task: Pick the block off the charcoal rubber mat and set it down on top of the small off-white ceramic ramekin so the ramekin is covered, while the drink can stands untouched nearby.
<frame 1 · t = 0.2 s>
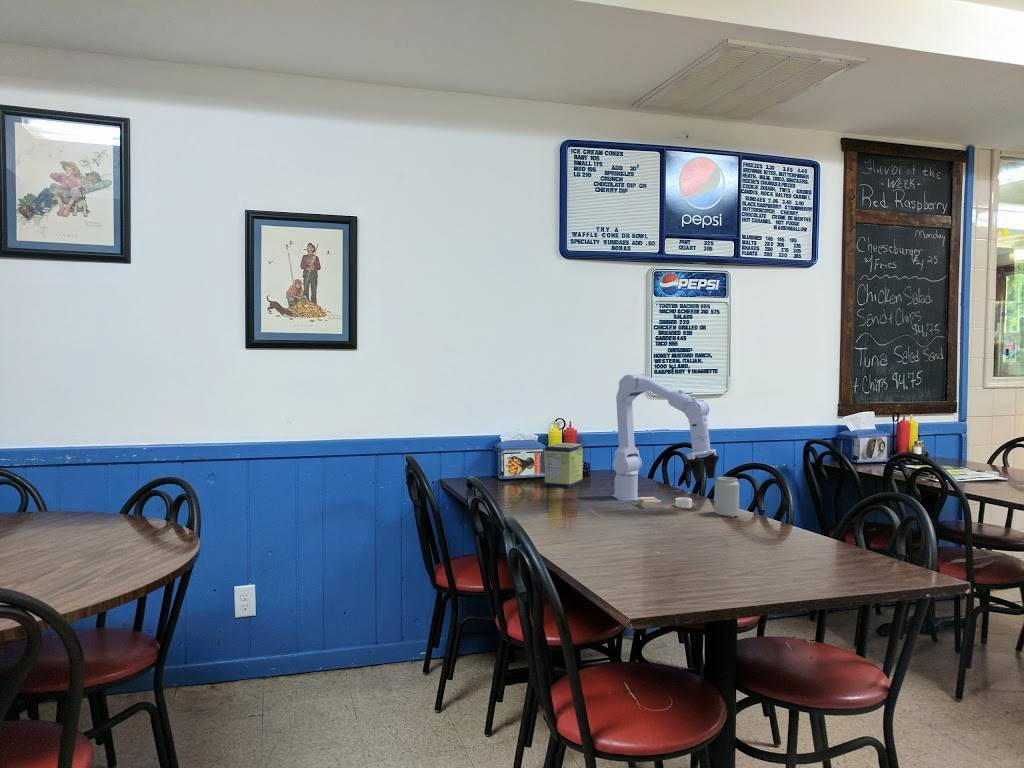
hand: (705, 479, 243), 11 cm above the table, tool pointing down, fingers open, 7 cm apart
mat: (648, 507, 250), on the table
block: (649, 506, 249), point 1 cm above the table, touching mat
bowl: (683, 507, 249), on the table
can: (726, 516, 238), on the table
protein box: (563, 484, 294), on the table
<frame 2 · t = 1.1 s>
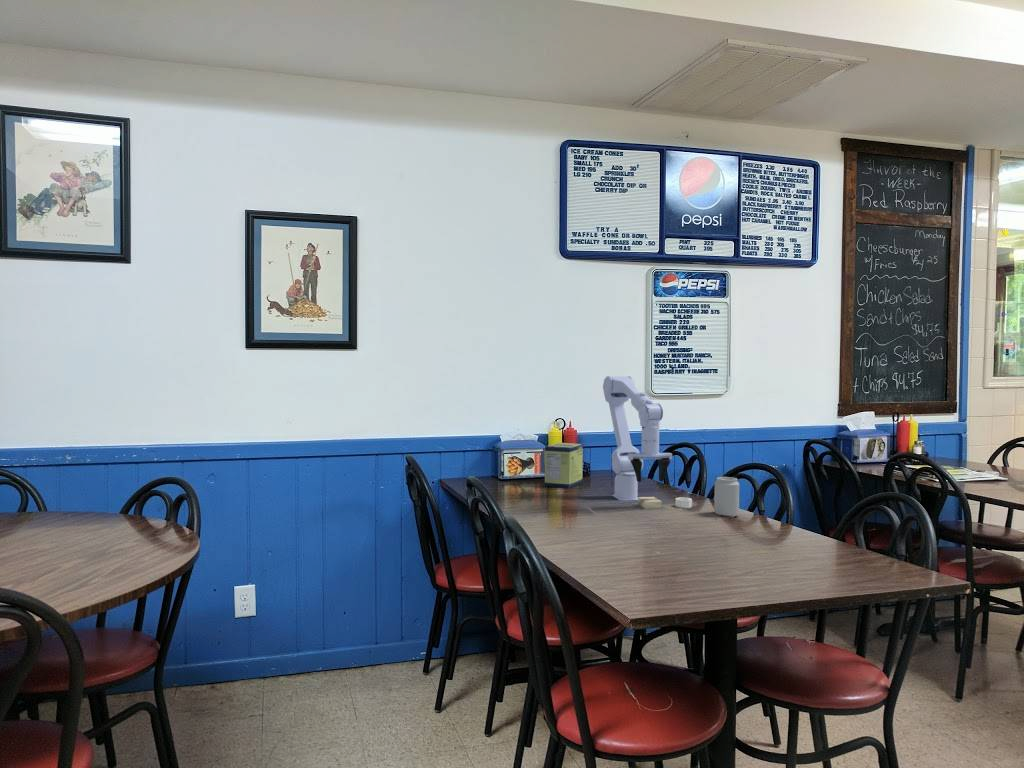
hand: (649, 481, 248), 9 cm above the table, tool pointing down, fingers open, 7 cm apart
nothing on the table moved.
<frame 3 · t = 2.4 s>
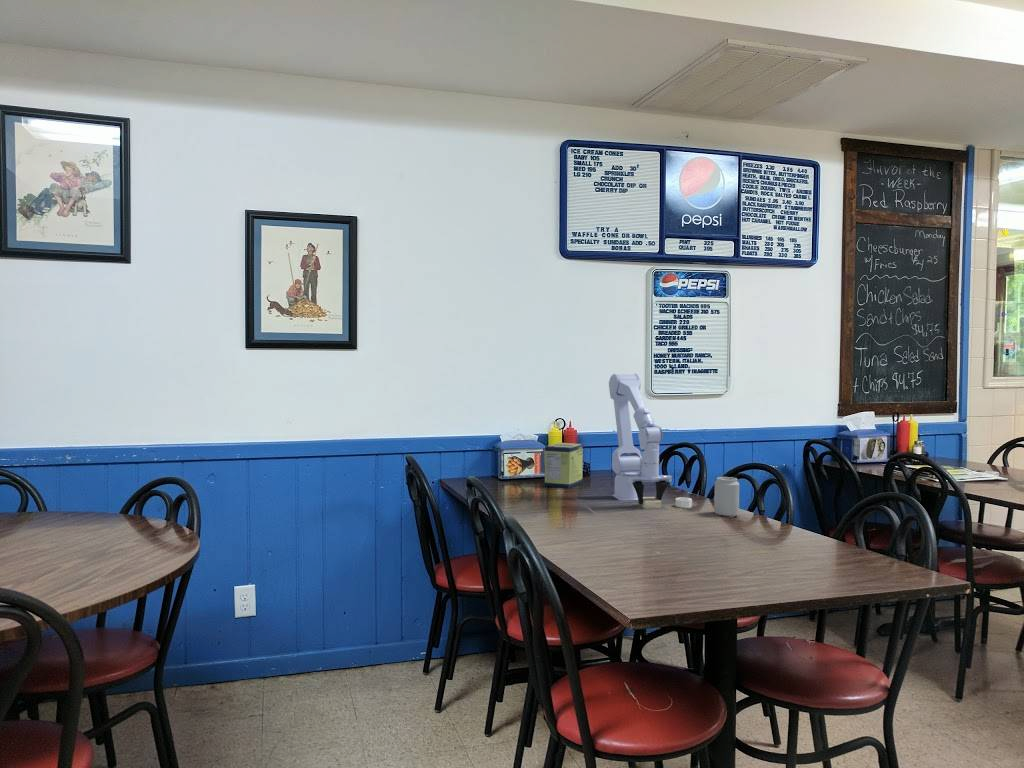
hand: (649, 503, 249), 2 cm above the table, tool pointing down, fingers closed on block, 5 cm apart
block: (649, 506, 249), point 1 cm above the table, touching gripper, mat
everything else where it was.
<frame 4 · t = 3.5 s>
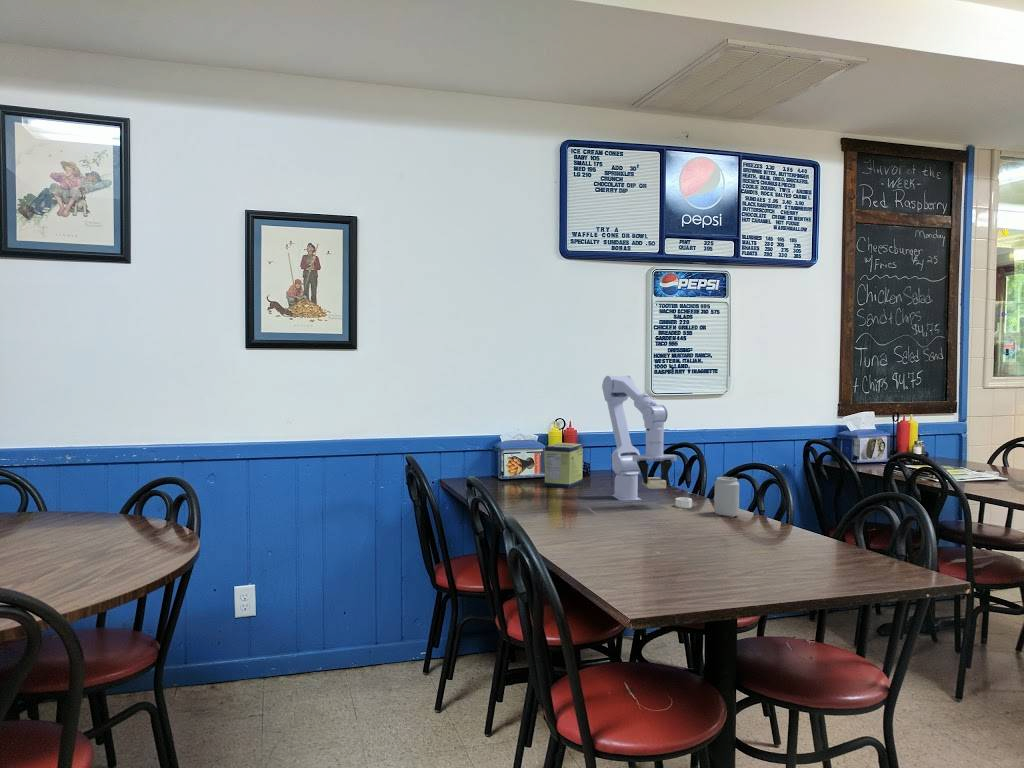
hand: (654, 482, 248), 8 cm above the table, tool pointing down, fingers closed on block, 5 cm apart
block: (654, 486, 248), point 7 cm above the table, touching gripper
everything else where it was.
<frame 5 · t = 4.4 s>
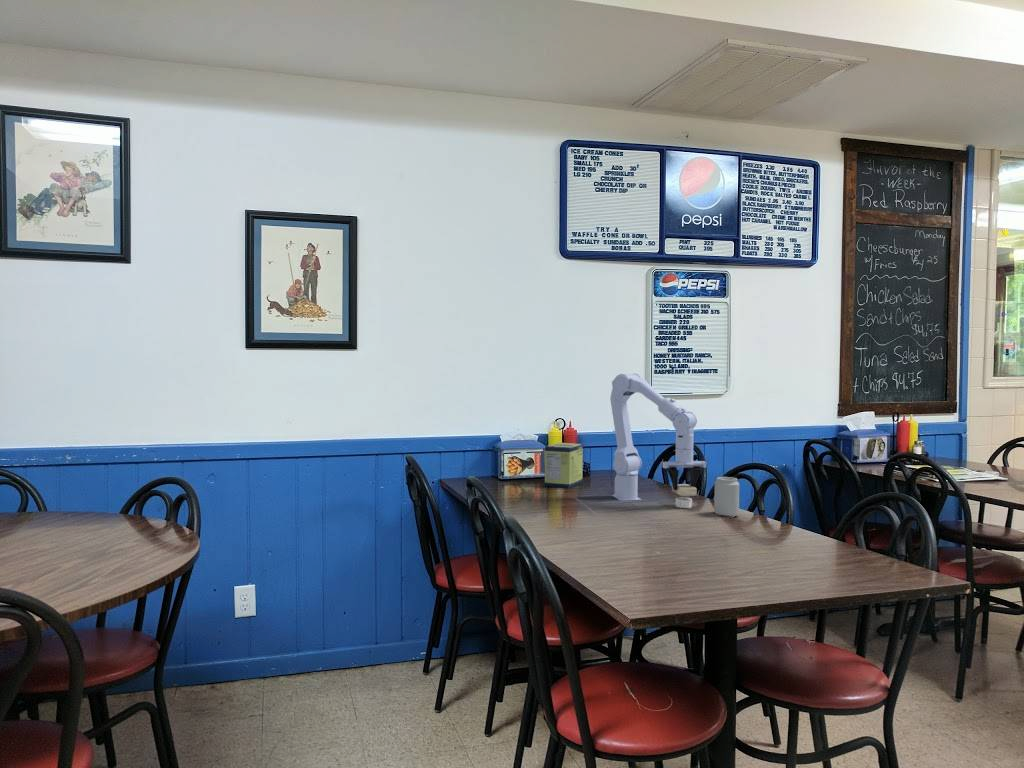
hand: (683, 489, 249), 6 cm above the table, tool pointing down, fingers closed on block, 5 cm apart
block: (684, 493, 249), point 5 cm above the table, touching gripper
everything else where it was.
when the fingers open (5 cm above the table, at t = 5.1 s): block stays where it is, resting on bowl.
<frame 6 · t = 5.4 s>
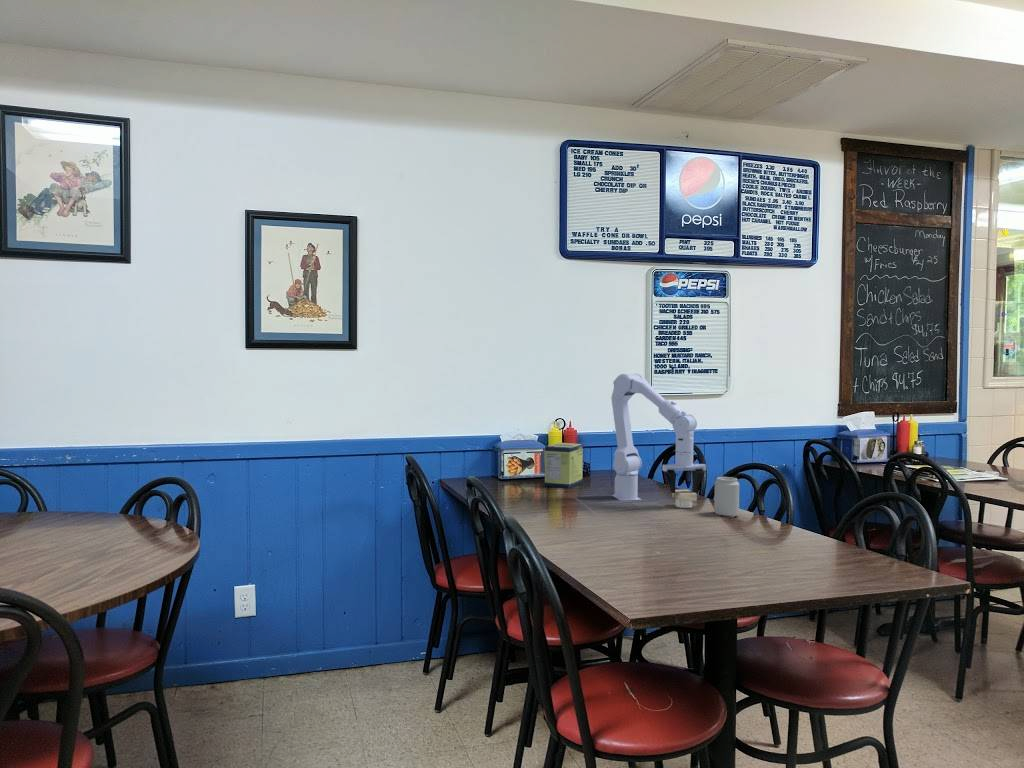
hand: (683, 492, 249), 5 cm above the table, tool pointing down, fingers open, 7 cm apart
block: (684, 499, 249), point 3 cm above the table, touching bowl
everything else where it was.
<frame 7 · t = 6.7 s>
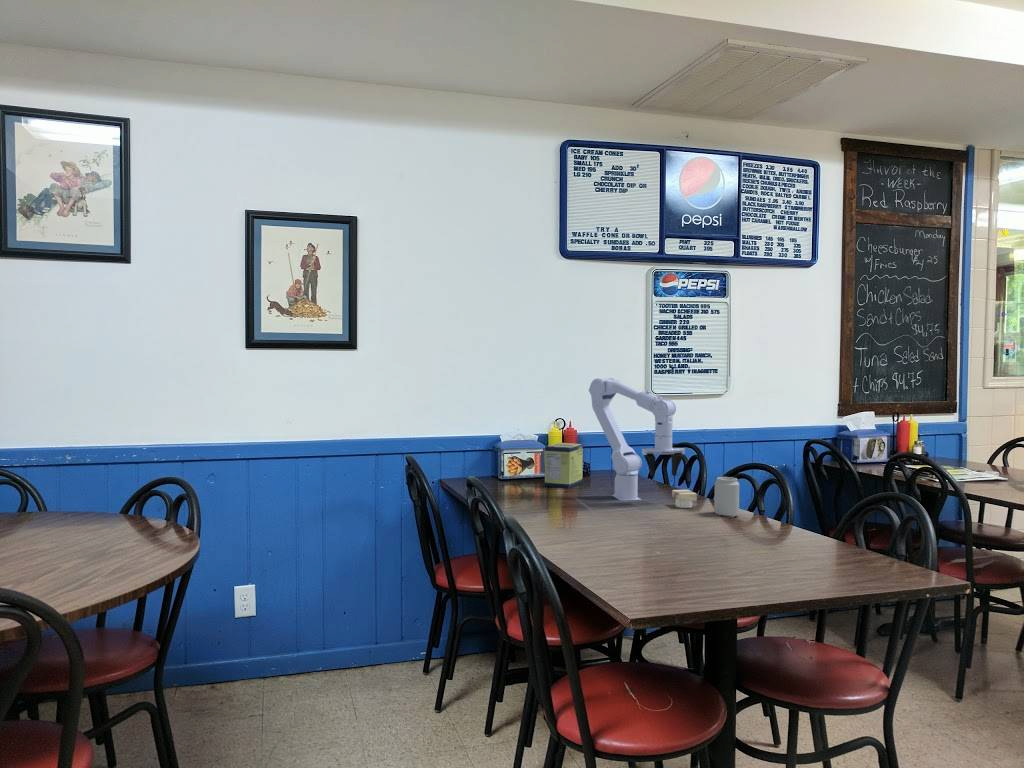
hand: (663, 475, 254), 10 cm above the table, tool pointing down, fingers open, 7 cm apart
nothing on the table moved.
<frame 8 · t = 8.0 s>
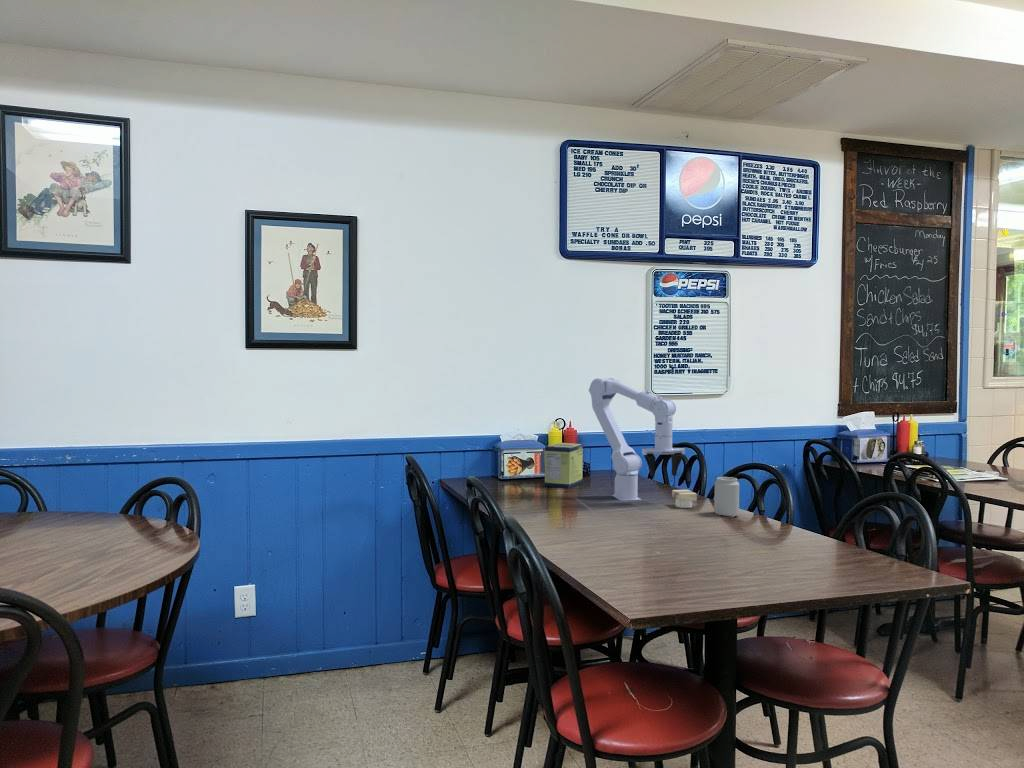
hand: (663, 475, 254), 10 cm above the table, tool pointing down, fingers open, 7 cm apart
nothing on the table moved.
at the end: block 0.2 cm off-centre on the bowl, point 3.0 cm above the bowl's base; block tilted 0°; the gripper is holding nothing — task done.
